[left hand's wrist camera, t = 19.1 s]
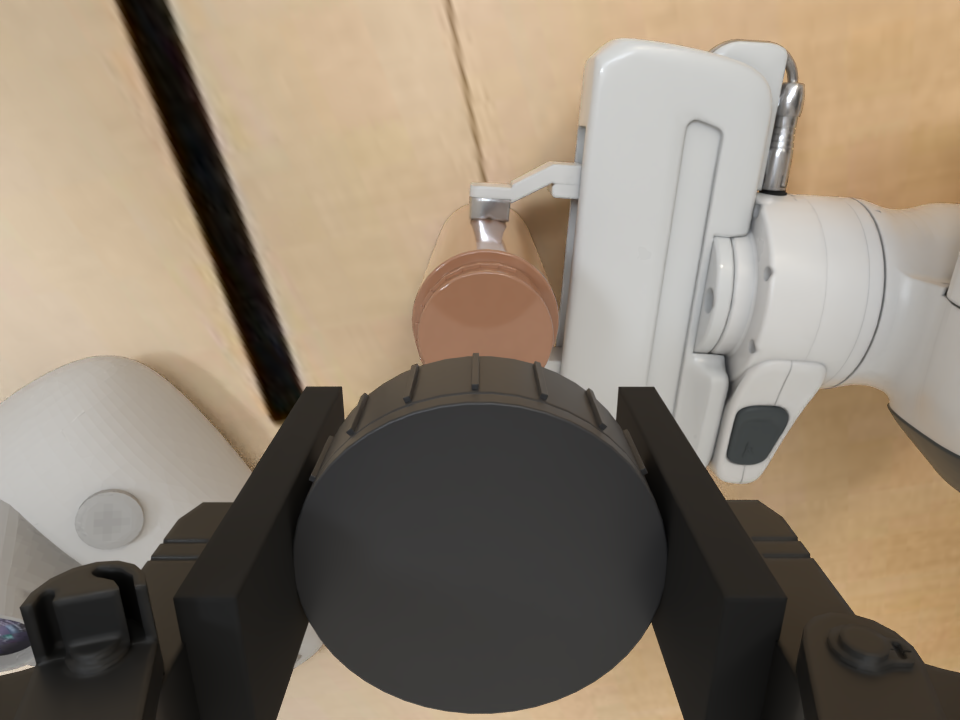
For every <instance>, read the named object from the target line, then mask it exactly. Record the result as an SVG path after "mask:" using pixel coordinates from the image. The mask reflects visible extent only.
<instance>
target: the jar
mask: <svg viewBox="0 0 960 720" xmlns="http://www.w3.org/2000/svg"><path fill="white" fill-rule="evenodd" d="M412 327H413V333H414V338H415V342H416V345H417V349H418V352H419V356H420V360H421V361H422V363H423V364H428V363H432V362H436V361H440V360H444V359H450V358H458V357H466V356H472V355H473V353H479V356H494V357H502V358H510V359H516V360H520V361H524V362H528V363H532V364H534V362H535V361H537V362H540V363H541V367H545V366H546V364H547V362H548V360H549V357H550V354H551V351H552V348H553V346H554V344H555V341H556V337H557V334H558V327H559V312H558V305H557V302H556V298H555V295H554V293H553V290H552V288H551V285H550V283H549V280H548V277H547V275H546V272H545V270H544V267H543V265H542V262H541V260H540V257H539V255H538V252H537V250H536V247H535V244H534V242H533V239H532V237H531V234H530V232H529V229H528V227H527V225H526V224H525V222H524V221H523V219H522V218H521V217H520V216H519V215H518V214H517V213H516V212H515V211H513V210H512V209H511V208H510V213H509V222H503V221H494V220H492V219H491V218H489V217H488V218H487V219H485V220H473V219H469V204H467V205H465V206H463V207H461V208H459V209H458V210H456V211H455V212H454V213H453V214H452V215H451V216H450V217H449V218H448V219H447V221H446V222H445V223H444V225H443V227H442V229H441V232H440V234H439V237H438V240H437V242H436V245H435V248H434V250H433V253H432V256H431V258H430V261H429V264H428V266H427V269H426V272H425V274H424V277H423V280H422V282H421V285H420V288H419V290H418V293H417V296H416V299H415V302H414V306H413V312H412Z"/></svg>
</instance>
